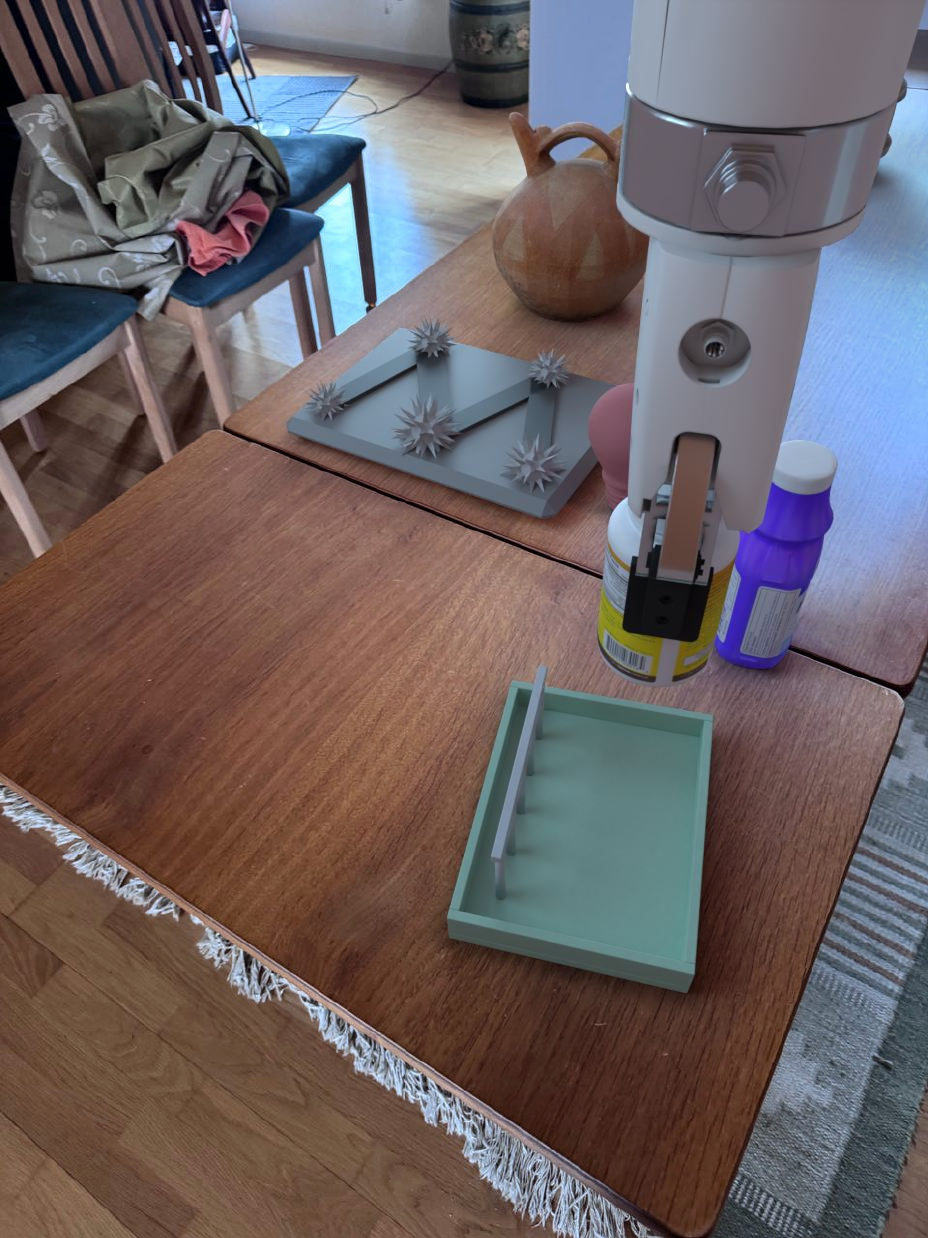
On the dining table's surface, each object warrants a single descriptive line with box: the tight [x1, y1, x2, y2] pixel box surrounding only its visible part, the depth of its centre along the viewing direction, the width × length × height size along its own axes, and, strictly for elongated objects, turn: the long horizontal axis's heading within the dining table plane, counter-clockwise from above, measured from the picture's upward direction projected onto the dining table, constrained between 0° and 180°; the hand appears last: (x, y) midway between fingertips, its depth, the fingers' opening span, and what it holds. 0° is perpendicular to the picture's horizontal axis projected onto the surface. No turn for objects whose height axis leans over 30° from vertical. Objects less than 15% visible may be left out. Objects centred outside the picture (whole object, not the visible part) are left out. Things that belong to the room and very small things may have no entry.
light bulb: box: [588, 382, 635, 511], centre depth 74 cm, size 7×7×12 cm
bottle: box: [714, 439, 839, 670], centre depth 61 cm, size 7×6×17 cm
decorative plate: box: [285, 317, 619, 521], centre depth 86 cm, size 30×22×7 cm
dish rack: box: [446, 664, 715, 994], centre depth 54 cm, size 14×18×7 cm
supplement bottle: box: [596, 484, 740, 689], centre depth 39 cm, size 6×6×10 cm
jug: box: [491, 111, 650, 323], centre depth 98 cm, size 18×18×20 cm
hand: (667, 578), depth 39 cm, fingers closed on supplement bottle, 5 cm apart
